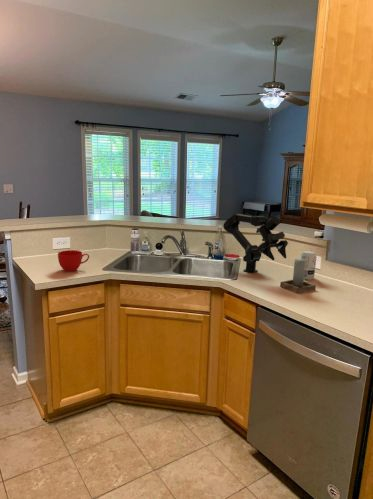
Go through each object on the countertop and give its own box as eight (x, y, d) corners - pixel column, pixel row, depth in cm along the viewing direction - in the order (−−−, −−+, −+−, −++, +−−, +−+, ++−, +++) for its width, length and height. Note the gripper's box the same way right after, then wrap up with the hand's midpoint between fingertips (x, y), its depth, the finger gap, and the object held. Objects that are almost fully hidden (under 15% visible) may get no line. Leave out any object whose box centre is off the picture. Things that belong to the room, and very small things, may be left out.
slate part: (294, 284, 191) (296, 258, 188) (304, 286, 188) (306, 260, 185) (290, 286, 187) (293, 260, 184) (300, 288, 184) (303, 262, 181)
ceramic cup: (91, 271, 204) (91, 254, 202) (60, 274, 197) (59, 256, 195) (87, 265, 216) (86, 249, 214) (57, 268, 208) (56, 251, 206)
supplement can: (298, 275, 212) (300, 250, 208) (313, 276, 210) (315, 251, 207) (299, 279, 204) (302, 253, 201) (314, 280, 202) (317, 254, 199)
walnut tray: (280, 286, 190) (280, 281, 189) (296, 283, 196) (296, 278, 196) (299, 293, 180) (299, 288, 179) (315, 289, 186) (315, 285, 186)
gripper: (263, 227, 192) (276, 252, 185) (287, 225, 202) (301, 249, 196) (251, 239, 200) (264, 263, 194) (275, 236, 210) (288, 260, 204)
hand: (279, 259), depth 196 cm, fingers open, 9 cm apart
